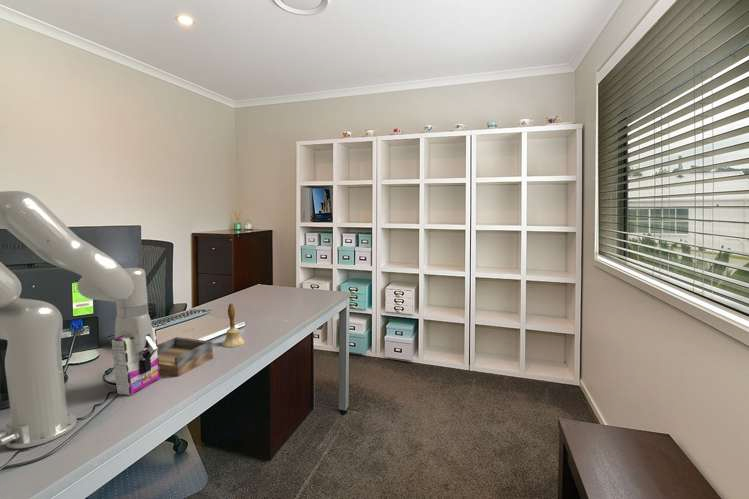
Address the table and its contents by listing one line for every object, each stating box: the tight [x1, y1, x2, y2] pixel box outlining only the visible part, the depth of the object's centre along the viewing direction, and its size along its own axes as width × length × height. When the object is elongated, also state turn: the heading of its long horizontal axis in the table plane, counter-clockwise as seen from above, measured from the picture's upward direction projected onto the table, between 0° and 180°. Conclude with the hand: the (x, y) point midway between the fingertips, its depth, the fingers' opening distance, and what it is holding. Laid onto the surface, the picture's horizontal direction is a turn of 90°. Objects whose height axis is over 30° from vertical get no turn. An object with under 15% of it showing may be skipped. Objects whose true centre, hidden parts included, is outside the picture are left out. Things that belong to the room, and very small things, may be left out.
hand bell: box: [221, 303, 246, 348], centre depth 142 cm, size 8×8×16 cm
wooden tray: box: [157, 336, 214, 377], centre depth 124 cm, size 15×16×6 cm
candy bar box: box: [111, 326, 161, 396], centre depth 108 cm, size 11×5×16 cm, turn 168°
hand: (137, 370), depth 108 cm, fingers closed on candy bar box, 5 cm apart
